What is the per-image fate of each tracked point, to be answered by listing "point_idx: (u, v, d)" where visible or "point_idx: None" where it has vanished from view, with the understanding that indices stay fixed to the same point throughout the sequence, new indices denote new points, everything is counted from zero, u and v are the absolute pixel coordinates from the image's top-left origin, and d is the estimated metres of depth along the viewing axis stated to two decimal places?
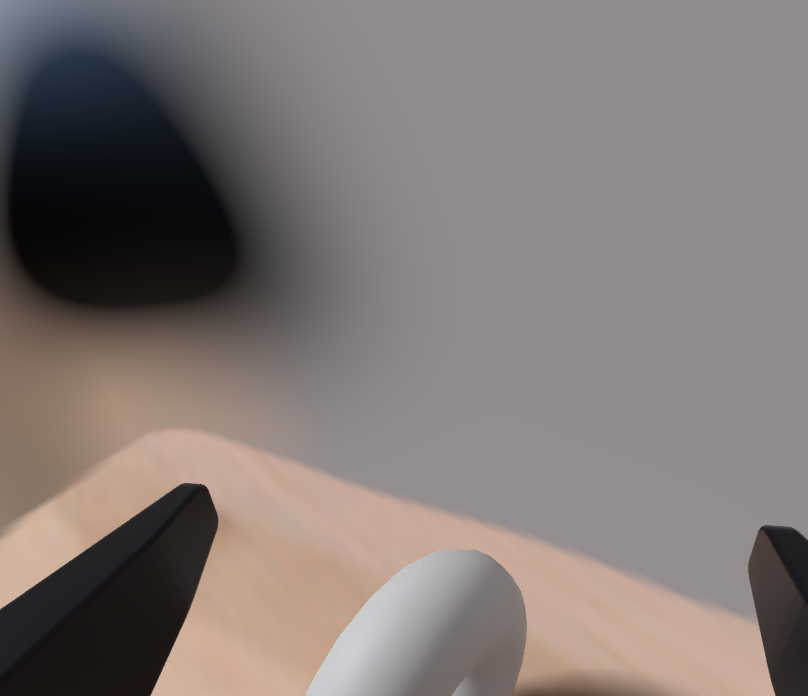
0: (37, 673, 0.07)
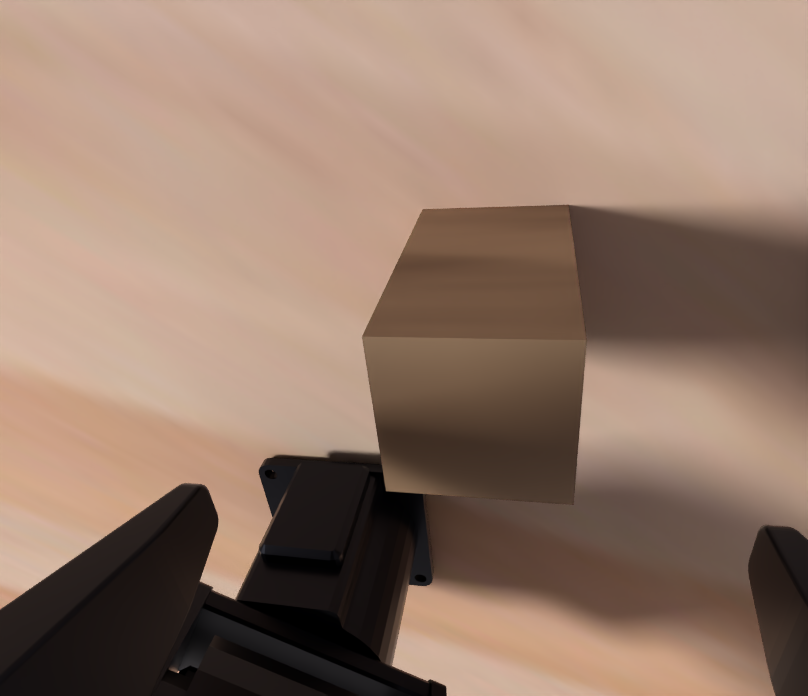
0: (37, 673, 0.07)
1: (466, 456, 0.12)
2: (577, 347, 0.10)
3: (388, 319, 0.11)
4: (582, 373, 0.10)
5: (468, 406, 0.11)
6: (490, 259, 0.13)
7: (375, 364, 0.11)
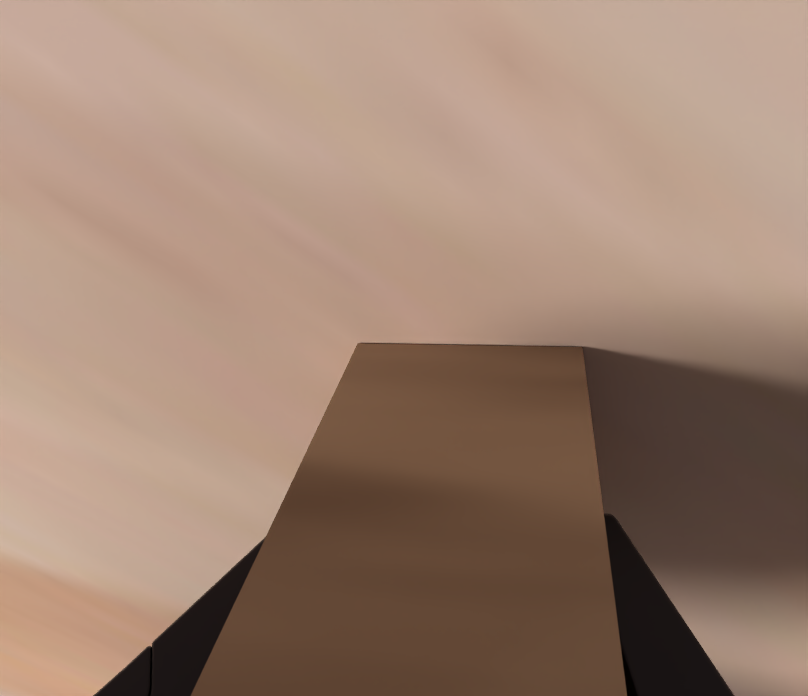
0: None
1: None
2: None
3: None
4: None
5: None
6: (450, 493, 0.07)
7: None
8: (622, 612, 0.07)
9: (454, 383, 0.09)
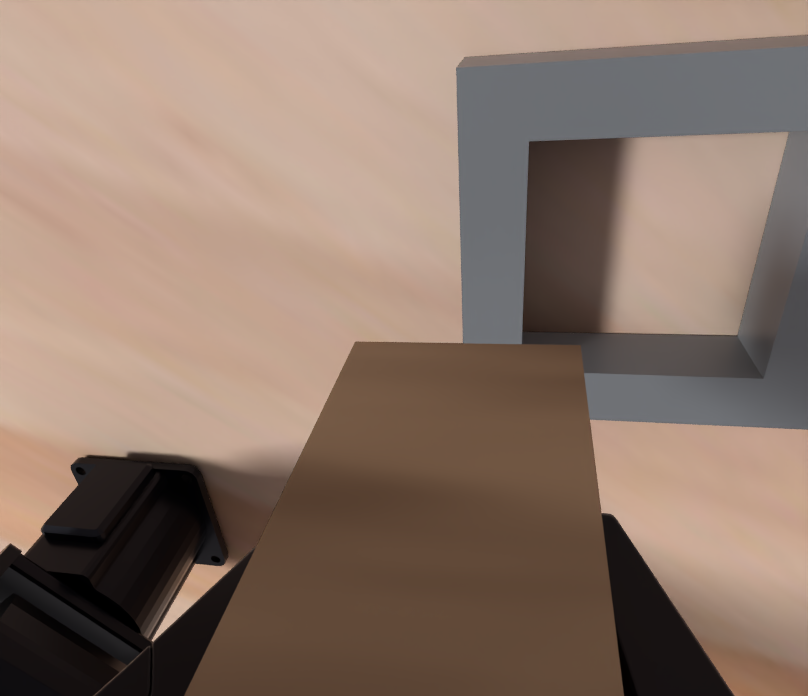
0: None
1: None
2: None
3: (221, 695, 0.06)
4: None
5: None
6: (446, 491, 0.07)
7: None
8: (622, 612, 0.07)
9: (452, 381, 0.09)
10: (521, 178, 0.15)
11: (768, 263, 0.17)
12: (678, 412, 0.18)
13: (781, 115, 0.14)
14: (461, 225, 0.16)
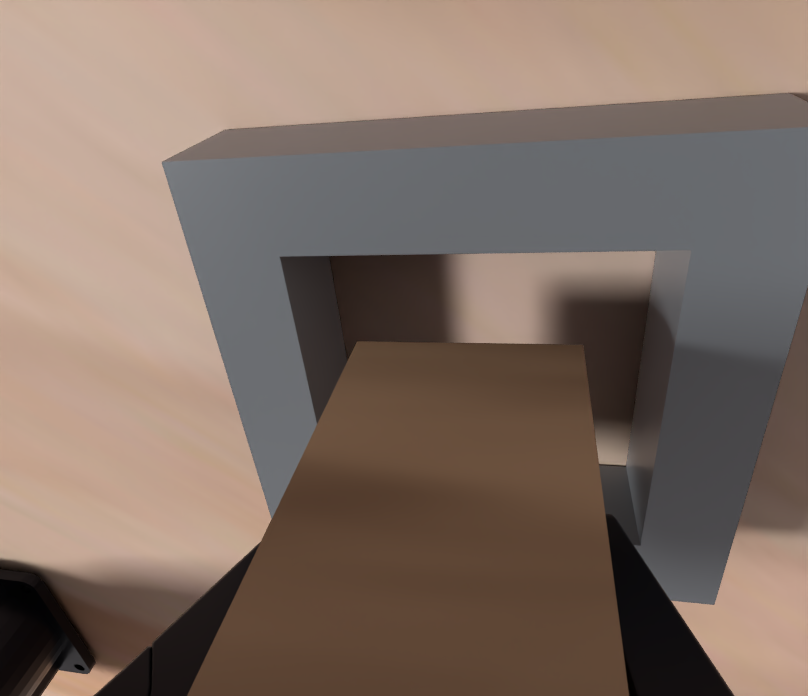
0: None
1: None
2: None
3: None
4: None
5: None
6: (449, 491, 0.07)
7: None
8: (622, 612, 0.07)
9: (454, 381, 0.09)
10: (281, 301, 0.11)
11: (644, 393, 0.13)
12: None
13: (610, 230, 0.09)
14: (222, 355, 0.12)
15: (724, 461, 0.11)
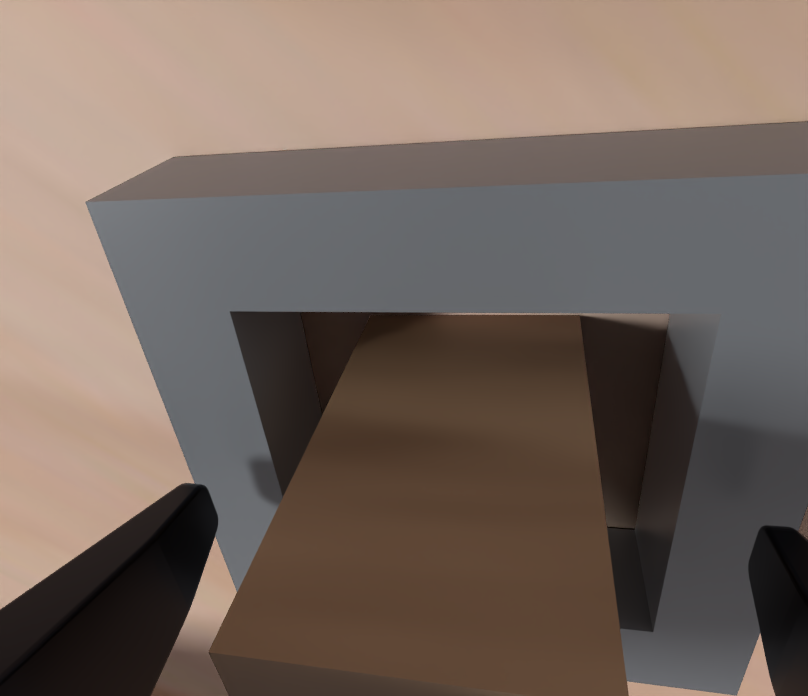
0: (37, 673, 0.07)
1: None
2: None
3: (266, 598, 0.06)
4: None
5: None
6: (458, 437, 0.08)
7: (240, 686, 0.06)
8: None
9: (461, 347, 0.10)
10: (234, 361, 0.10)
11: (658, 459, 0.11)
12: None
13: (622, 289, 0.08)
14: (170, 418, 0.11)
15: None
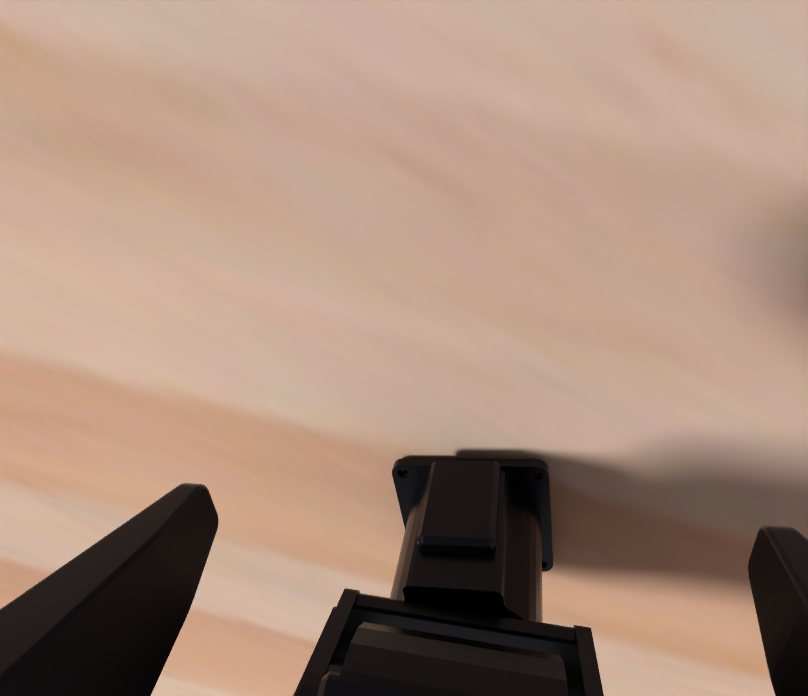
0: (37, 673, 0.07)
1: None
2: None
3: None
4: None
5: None
6: None
7: None
8: None
9: None
10: None
11: None
12: None
13: None
14: None
15: None
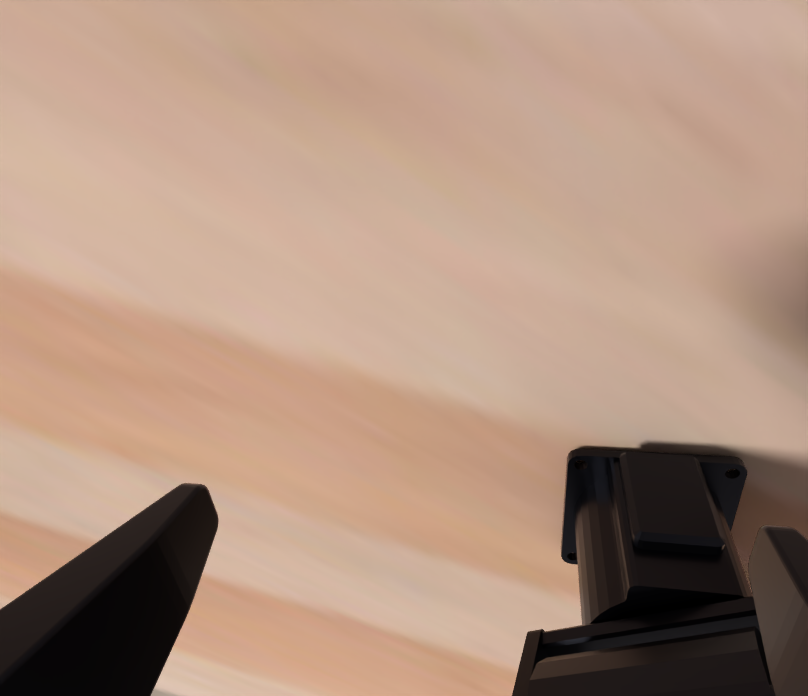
0: (37, 673, 0.07)
1: None
2: None
3: None
4: None
5: None
6: None
7: None
8: None
9: None
10: None
11: None
12: None
13: None
14: None
15: None
